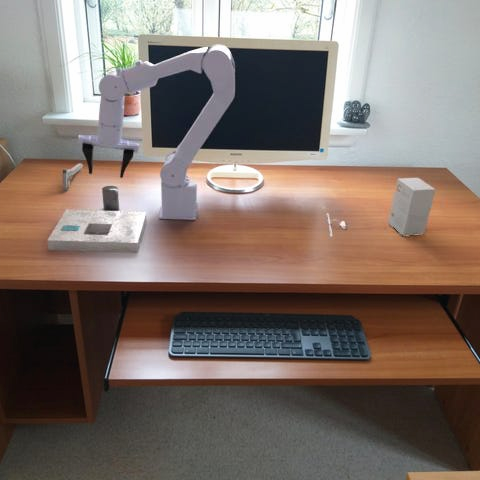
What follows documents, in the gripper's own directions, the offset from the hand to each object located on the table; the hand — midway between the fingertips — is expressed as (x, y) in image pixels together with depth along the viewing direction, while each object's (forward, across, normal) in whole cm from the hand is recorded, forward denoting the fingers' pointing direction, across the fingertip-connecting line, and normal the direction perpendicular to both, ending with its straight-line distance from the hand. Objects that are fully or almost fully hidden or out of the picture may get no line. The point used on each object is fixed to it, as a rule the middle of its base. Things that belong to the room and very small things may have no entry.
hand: (106, 174), depth 129 cm
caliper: (+13, +10, -22) cm, 28 cm away
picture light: (+1, -60, +13) cm, 61 cm away
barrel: (+10, -2, 0) cm, 10 cm away
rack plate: (+10, 0, +14) cm, 17 cm away
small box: (-2, -78, +17) cm, 80 cm away
